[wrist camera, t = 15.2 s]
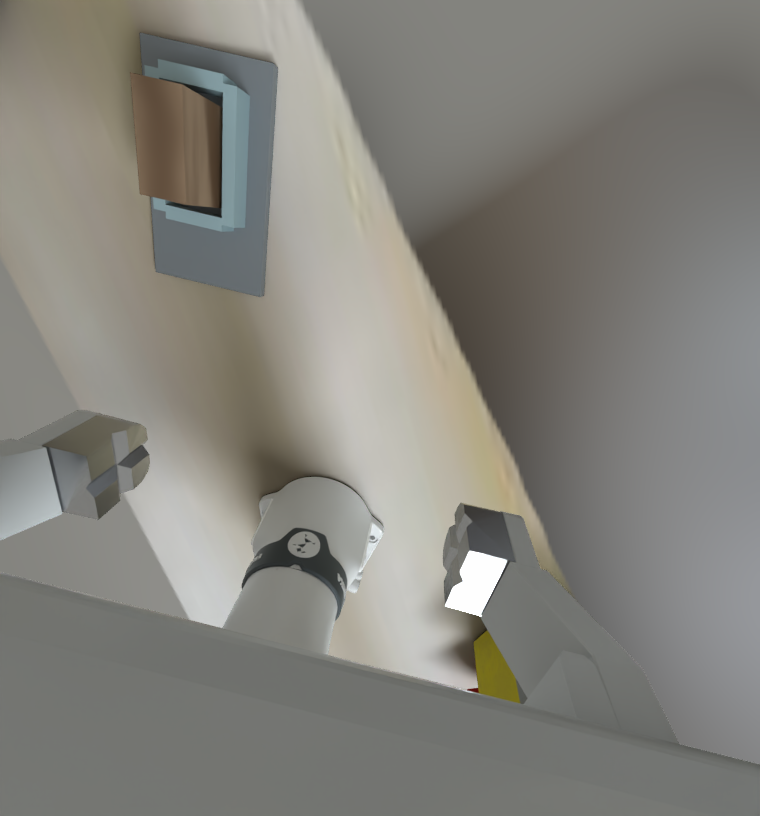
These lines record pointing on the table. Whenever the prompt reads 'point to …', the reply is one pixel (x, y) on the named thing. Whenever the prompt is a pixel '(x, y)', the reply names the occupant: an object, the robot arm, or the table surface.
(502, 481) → the table surface
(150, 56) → the connector dock
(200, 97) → the key block
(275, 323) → the table surface
